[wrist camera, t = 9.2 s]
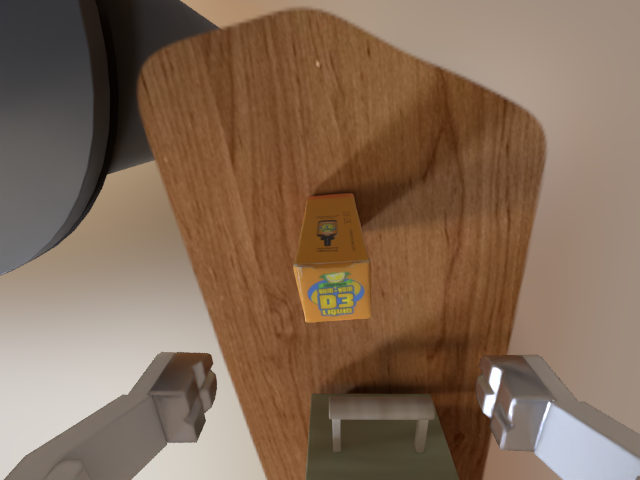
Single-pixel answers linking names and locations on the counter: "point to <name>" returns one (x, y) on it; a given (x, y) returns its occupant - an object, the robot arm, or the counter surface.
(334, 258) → the supplement box
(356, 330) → the counter surface
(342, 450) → the drawer
